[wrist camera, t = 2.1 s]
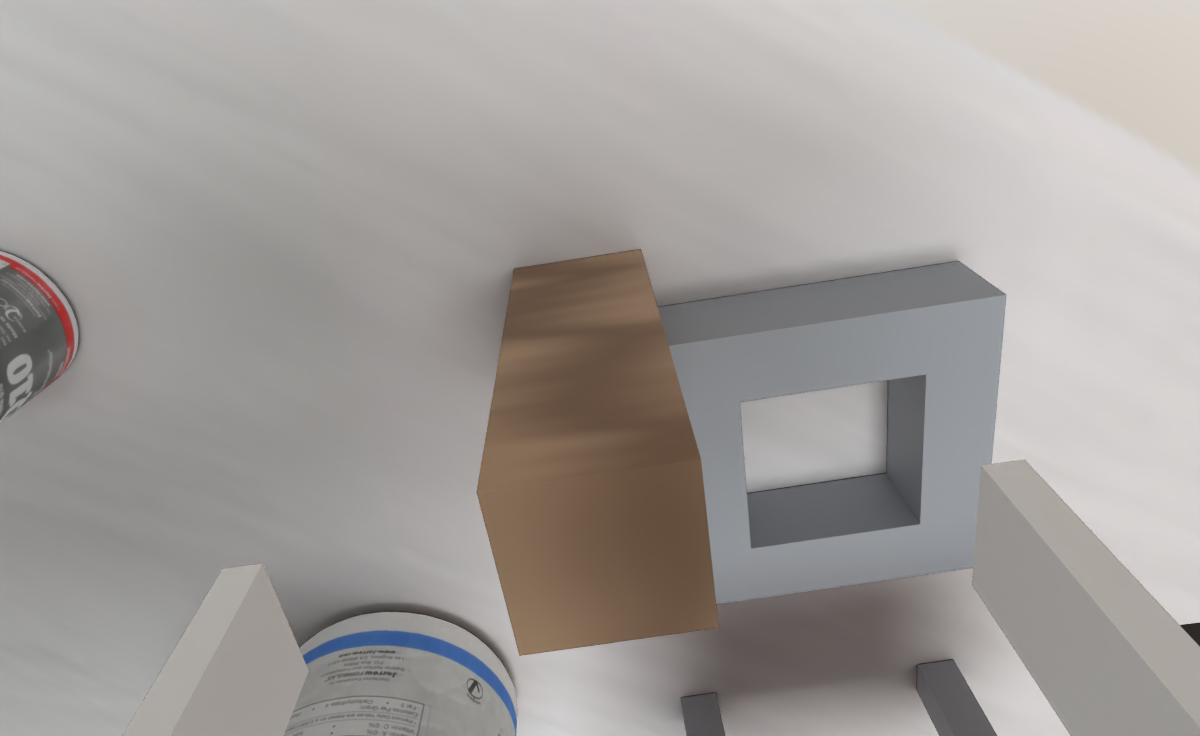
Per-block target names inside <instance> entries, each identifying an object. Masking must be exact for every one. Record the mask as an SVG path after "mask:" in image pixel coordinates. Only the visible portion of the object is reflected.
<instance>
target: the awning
mask: <svg viewBox="0 0 1200 736" xmlns="http://www.w3.org/2000/svg"><path fill="white" fill-rule="evenodd" d="M917 692H918V694H919V696H920V698H921V700H922V702H923V704H924V706H925V708H926V710H927V712H928V714H929V716H930V718H931V720H932V722H933V724H934V726H935V728H936V730H937V732H938V734H939V736H997V735H996V733H995V731H994V729H993V728H992V726H991V724H990V722H989V721H988V719H987V717H986V715H985V714H984V712H983V710H982V708H981V707H980V705H979V703H978V701H977V700H976V698H975V696H974V694H973V693H972V691H971V689H970V687H969V686H968V684H967V682H966V680H965V679H964V677H963V675H962V674H961V672H960V670H959V668H958V667H957V665H956V663H955V661H954V660H948V661H941V662H934V663H927V664H920V665H918V670H917ZM681 703H682V710H683V717H684V724H685V730H686V736H725V732H724V728H723V723H722V718H721V714H720V709H719V704H718V700H717V695H716V693H712V694H704V695H697V696H690V697H683V698H681Z"/></svg>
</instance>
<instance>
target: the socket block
mask: <svg viewBox="0 0 1200 736" xmlns="http://www.w3.org/2000/svg"><path fill="white" fill-rule="evenodd" d="M1005 305H1006V294H1005V293H1003V292H1002V291H1000V290H999V289H998V288H996V287H995V286H993V285H992V284H991V283H989V282H988V281H986V280H985V279H983V278H982V277H981V276H979V275H978V274H976V273H975V272H974V271H972V270H971V269H969V268H968V267H967V266H965V265H964V264H962V263H961V262H960V261H957V262H950V263H944V264H937V265H930V266H924V267H917V268H911V269H904V270H898V271H891V272H885V273H878V274H871V275H865V276H858V277H852V278H845V279H839V280H832V281H826V282H819V283H813V284H806V285H799V286H793V287H786V288H780V289H773V290H767V291H760V292H754V293H747V294H740V295H734V296H727V297H721V298H714V299H708V300H701V301H695V302H688V303H681V304H675V305H668V306H662V307H658V311H659V314H660V318H661V321H662V325H663V328H664V332H665V335H666V339H667V342H668V346H669V349H670V353H671V356H672V360H673V363H674V367H675V370H676V374H677V377H678V380H679V384H680V387H681V391H682V394H683V398H684V401H685V405H686V408H687V412H688V415H689V419H690V422H691V426H692V429H693V433H694V436H695V440H696V443H697V447H698V450H699V454H700V457H701V463H702V473H703V482H704V492H705V501H706V510H707V520H708V529H709V539H710V548H711V558H712V567H713V577H714V586H715V596H716V604H723V603H730V602H737V601H744V600H751V599H758V598H765V597H772V596H779V595H786V594H793V593H800V592H807V591H814V590H821V589H828V588H835V587H842V586H849V585H856V584H863V583H870V582H877V581H884V580H892V579H899V578H906V577H913V576H920V575H927V574H934V573H941V572H948V571H955V570H962V569H969V568H973V564H974V551H975V538H976V526H977V513H978V500H979V488H980V475H981V465H988V464H992V453H993V441H994V430H995V419H996V407H997V396H998V385H999V373H1000V362H1001V351H1002V339H1003V328H1004V317H1005ZM886 380H888V426H887V473H885V474H878V475H871V476H865V477H858V478H851V479H844V480H837V481H830V482H823V483H817V484H810V485H803V486H796V487H789V488H782V489H775V490H769V491H762V492H755V493H748V494H747V490H746V477H745V464H744V451H743V438H742V426H741V413H740V402H745V401H751V400H758V399H765V398H771V397H778V396H785V395H792V394H798V393H805V392H812V391H818V390H825V389H832V388H839V387H845V386H852V385H859V384H865V383H872V382H879V381H886Z"/></svg>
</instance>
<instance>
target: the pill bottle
mask: <svg viewBox="0 0 1200 736" xmlns="http://www.w3.org/2000/svg"><path fill="white" fill-rule="evenodd" d="M77 347H78V326H77V321H76V318H75V316H74V313H73V311H72V308H71V306H70V305H69V303H68V301H67V300H66V298H65V297H64V295H63V294H62V293H61V291H60V290H59V289H58V288H57V287H56V285H55V284H54V283H53V282H52V281H51V280H50V279H49V278H48V277H46V276H45V275H44V274H43V273H42V272H41V271H39V270H38V269H37V268H35V267H34V266H32V265H31V264H29V263H28V262H26V261H24V260H22V259H20V258H18V257H16V256H13V255H11V254H8V253H5V252H2V251H0V423H1V422H2V421H3V420H5V419H6V418H7V417H9V416H10V415H11V414H13V413H14V412H15V411H16V410H18V409H19V408H20V407H21V406H23V405H24V404H25V403H26V402H28V401H29V400H30V399H32V398H33V397H34V396H36V395H37V394H38V393H39V392H41V391H42V390H43V389H45V388H46V387H47V386H48V385H50V384H51V383H52V382H53V381H55V380H56V379H57V378H58V377H59V376H60V375H62V374H63V373H64V372H65V370H66V369H67V368H68V367H69V365H70V364H71V362H72V361H73V359H74V357H75V354H76V351H77Z"/></svg>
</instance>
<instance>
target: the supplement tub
mask: <svg viewBox="0 0 1200 736" xmlns="http://www.w3.org/2000/svg"><path fill="white" fill-rule="evenodd" d="M299 649H300V651H301V654H302V656H303V658H304V661H305V663H306V665H307V668H308V670H309V671H308V674H307V677H306V679H305V682H304V684H303V687H302V689H301V692H300V695H299V697H298V700H297V702H296V705H295V708H294V710H293V713H292V715H291V718H290V720H289V723H288V726H287V728H286V731H285V733H284V736H516V727H517V713H518V709H517V698H516V693H515V689H514V686H513V683H512V681H511V679H510V677H509V674H508V672H507V671H506V669H505V667H504V666H503V664H502V663H501V661H500V660H499V659H498V657H497V656H496V655H495V654H494V653H493V652H492V651H491V650H490V649H489V647H487V646H486V645H485V644H484V643H483V642H482V641H481V640H479V639H478V638H477V637H475V636H474V635H473V634H471V633H469V632H468V631H466V630H464V629H463V628H461V627H459V626H457V625H455V624H452V623H450V622H447V621H444V620H441V619H438V618H434V617H431V616H427V615H421V614H414V613H406V612H380V613H371V614H364V615H360V616H355V617H351V618H349V619H346V620H343V621H340V622H337V623H335V624H333V625H331V626H329V627H327V628H325V629H323V630H322V631H320V632H319V633H317V634H316V635H314V636H313V637H312V638H310V639H309V640H308V641H307V642H306V643H304V644H303V645H302V646H301V647H300V648H299Z"/></svg>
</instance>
